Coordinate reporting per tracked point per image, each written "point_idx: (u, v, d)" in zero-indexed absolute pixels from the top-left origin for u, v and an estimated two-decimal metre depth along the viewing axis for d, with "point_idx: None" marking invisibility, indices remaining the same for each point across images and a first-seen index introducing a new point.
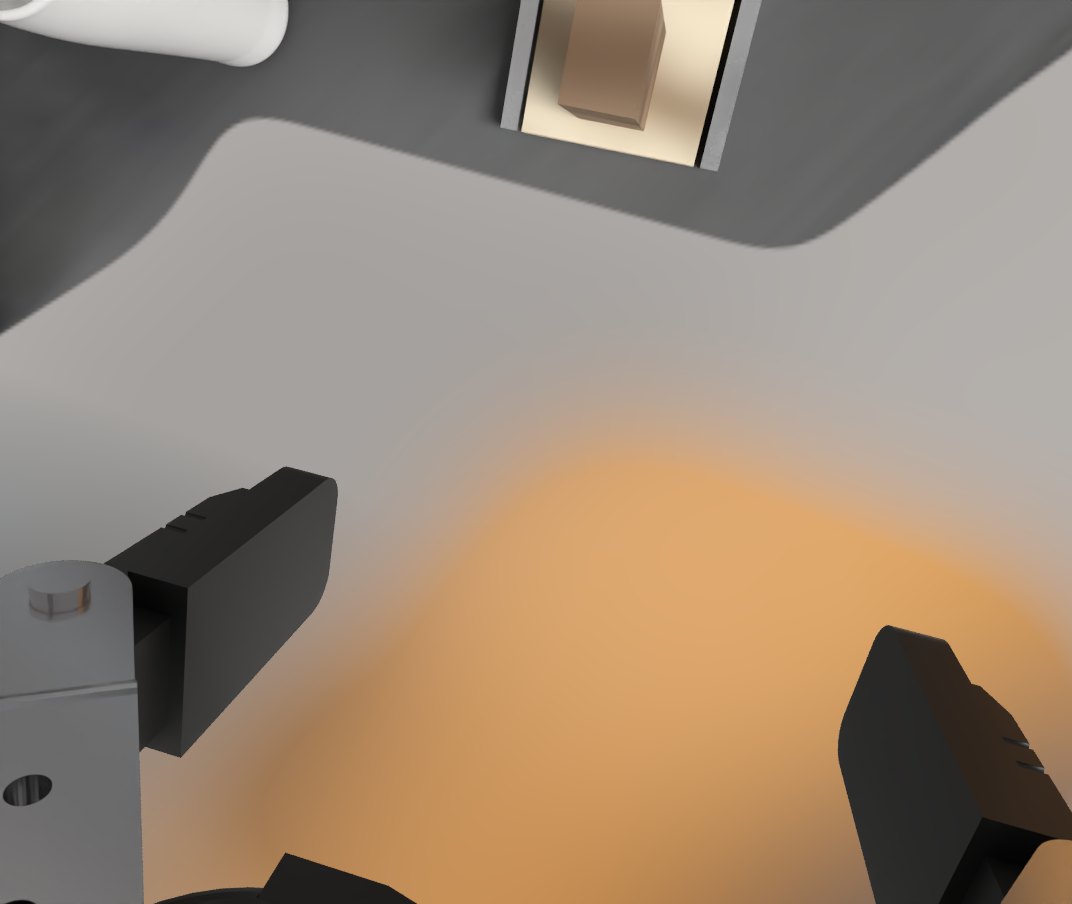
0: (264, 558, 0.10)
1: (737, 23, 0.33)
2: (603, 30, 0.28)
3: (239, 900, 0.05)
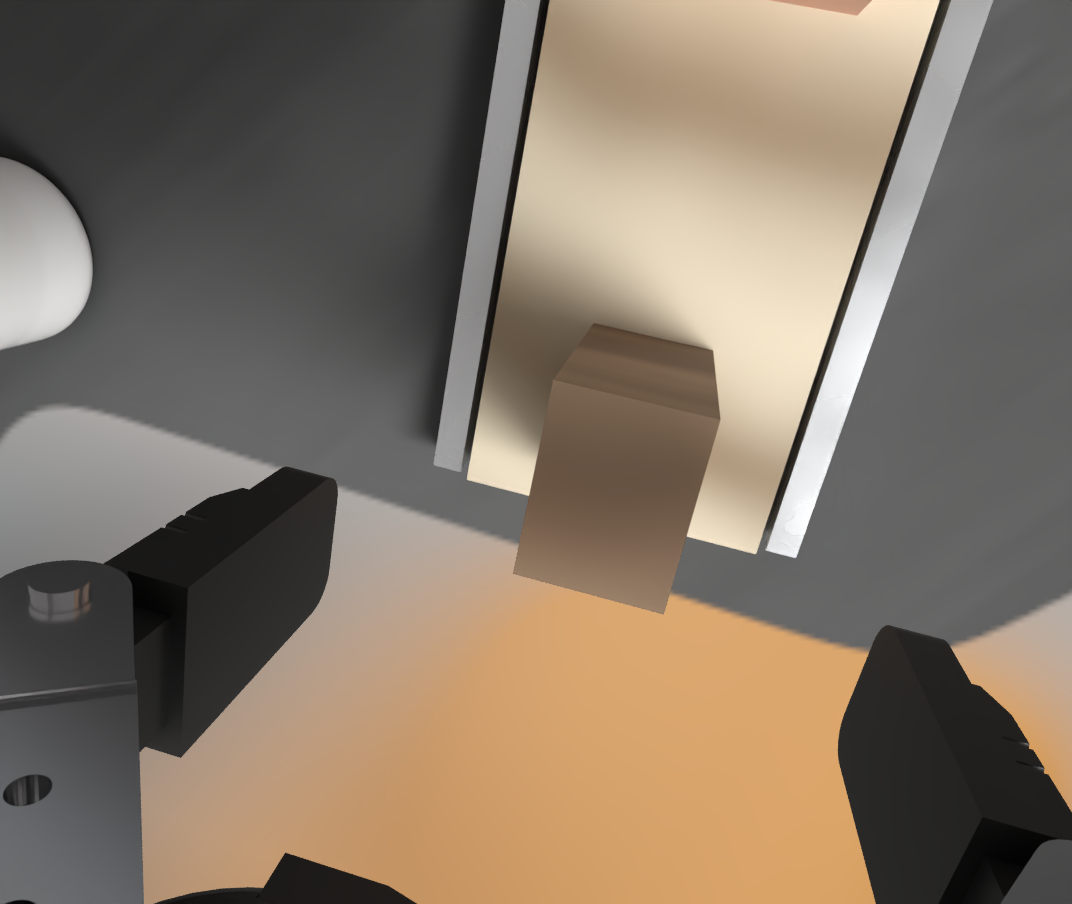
0: (263, 558, 0.10)
1: (839, 339, 0.19)
2: (601, 461, 0.14)
3: (238, 900, 0.05)
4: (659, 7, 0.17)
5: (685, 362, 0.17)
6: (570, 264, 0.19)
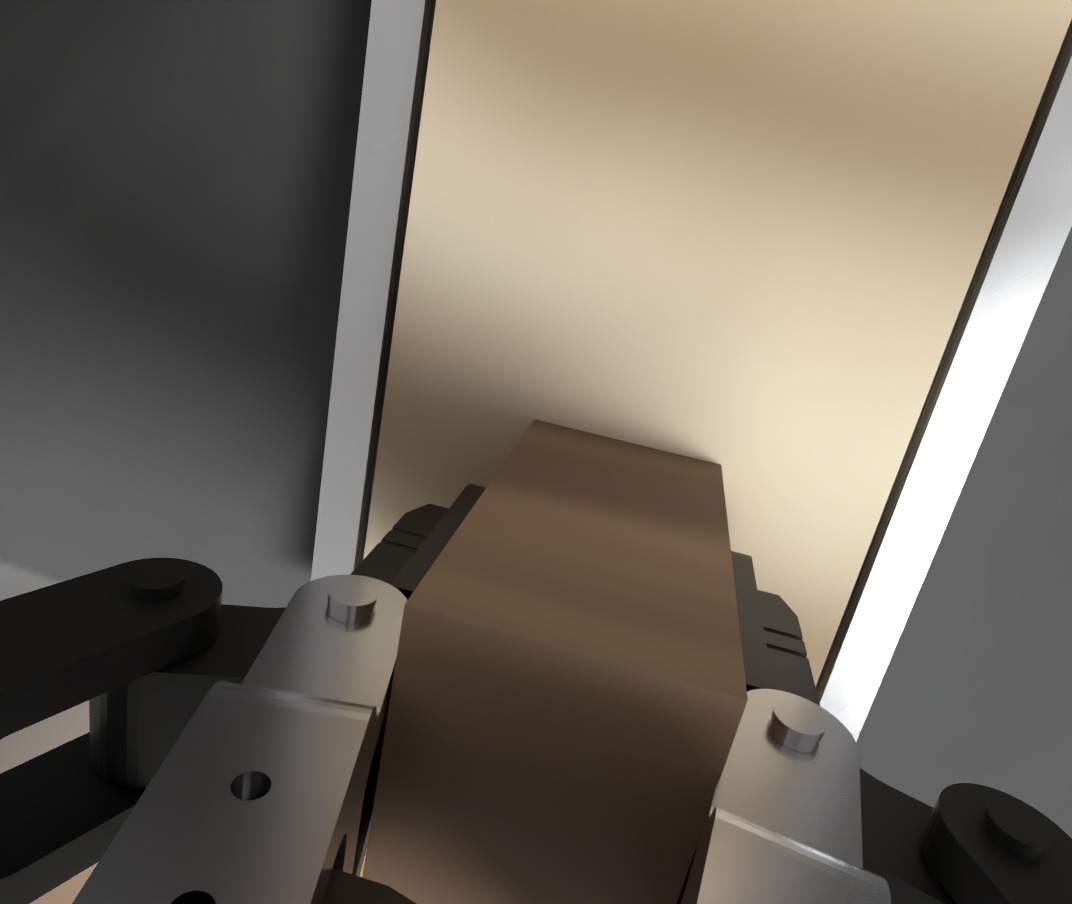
0: None
1: (923, 449, 0.12)
2: (507, 758, 0.07)
3: None
4: None
5: (676, 504, 0.10)
6: (495, 329, 0.12)
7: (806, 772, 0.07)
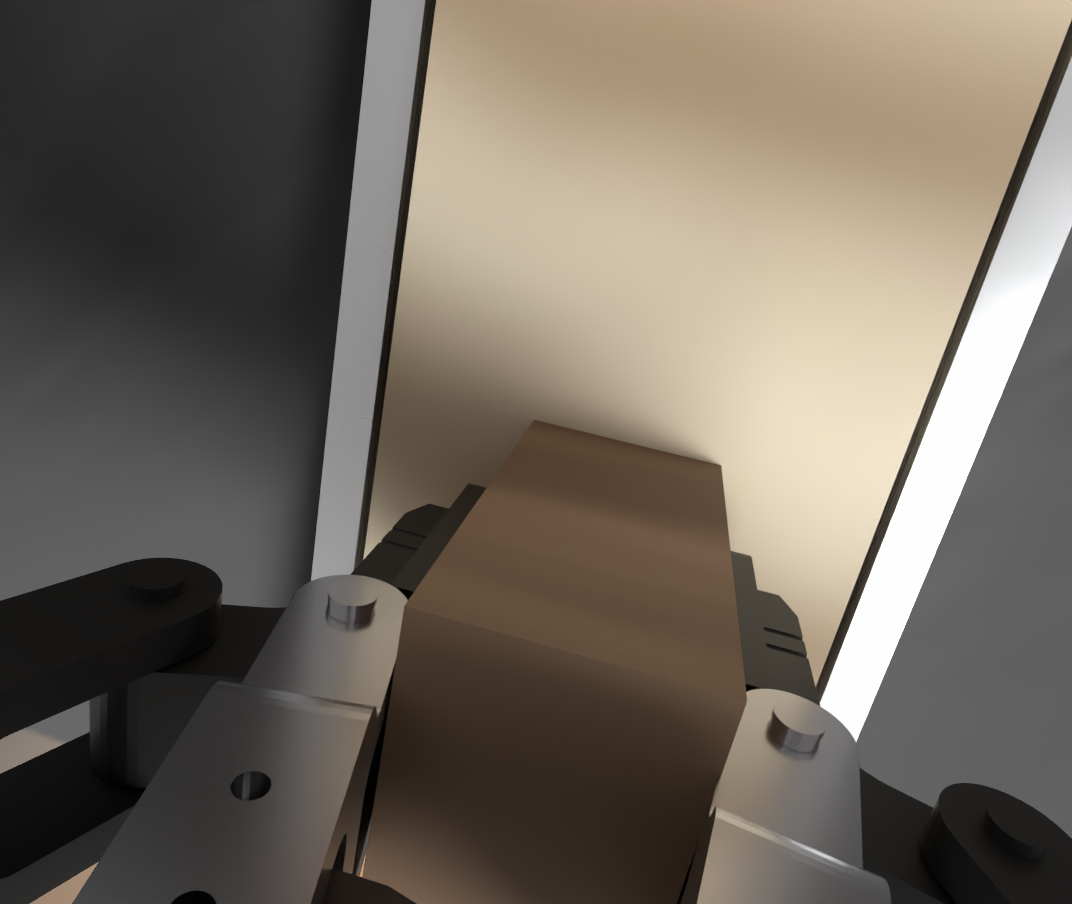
0: None
1: (827, 694, 0.13)
2: (507, 758, 0.07)
3: None
4: None
5: (676, 505, 0.10)
6: (495, 329, 0.12)
7: (806, 772, 0.07)
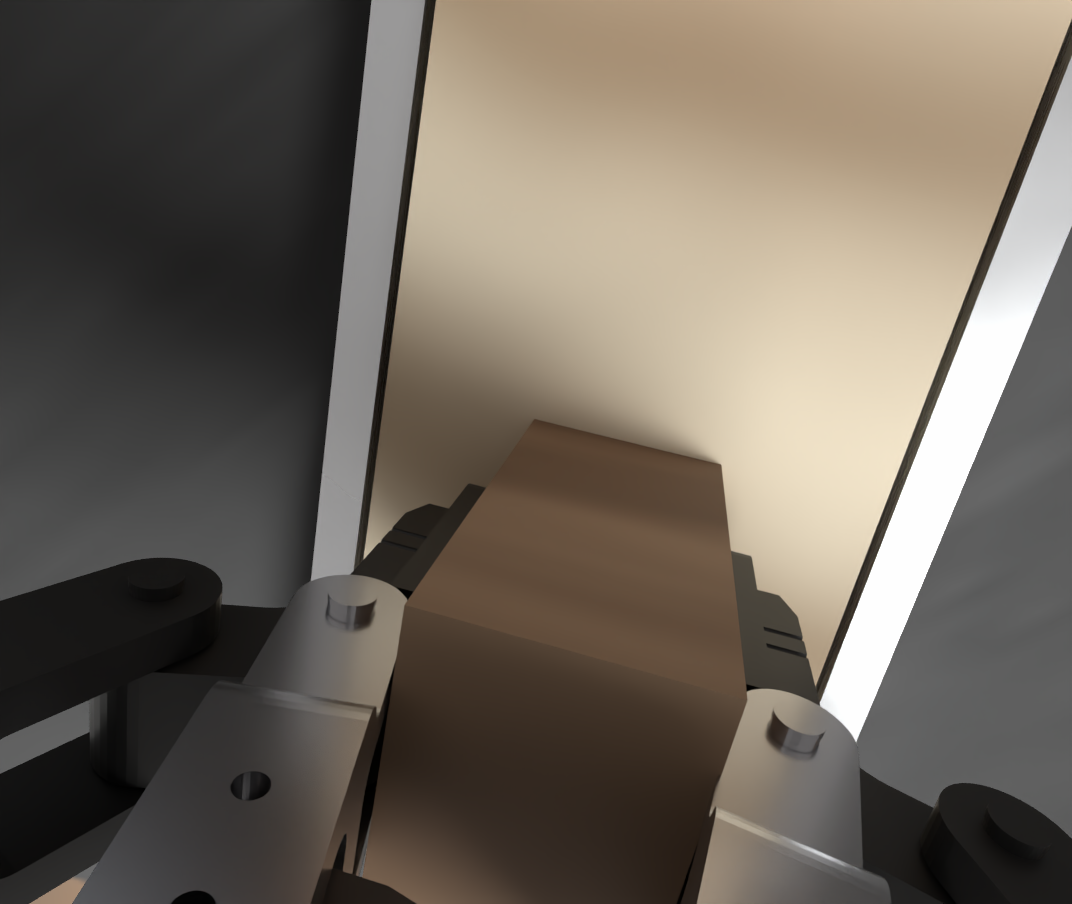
0: None
1: None
2: (507, 758, 0.07)
3: None
4: None
5: (676, 504, 0.10)
6: (495, 328, 0.12)
7: (806, 772, 0.07)
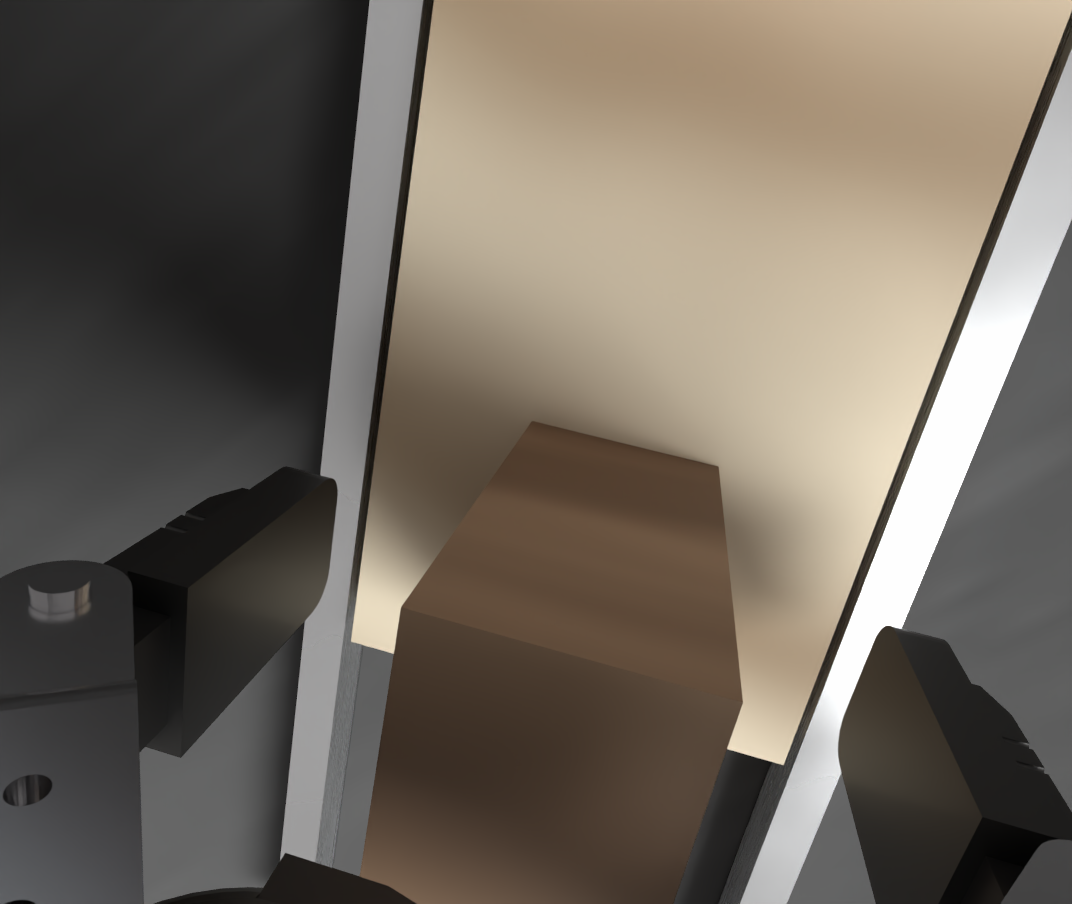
0: (264, 558, 0.10)
1: (751, 883, 0.15)
2: (504, 760, 0.07)
3: (239, 900, 0.05)
4: None
5: (674, 506, 0.10)
6: (493, 330, 0.12)
7: None
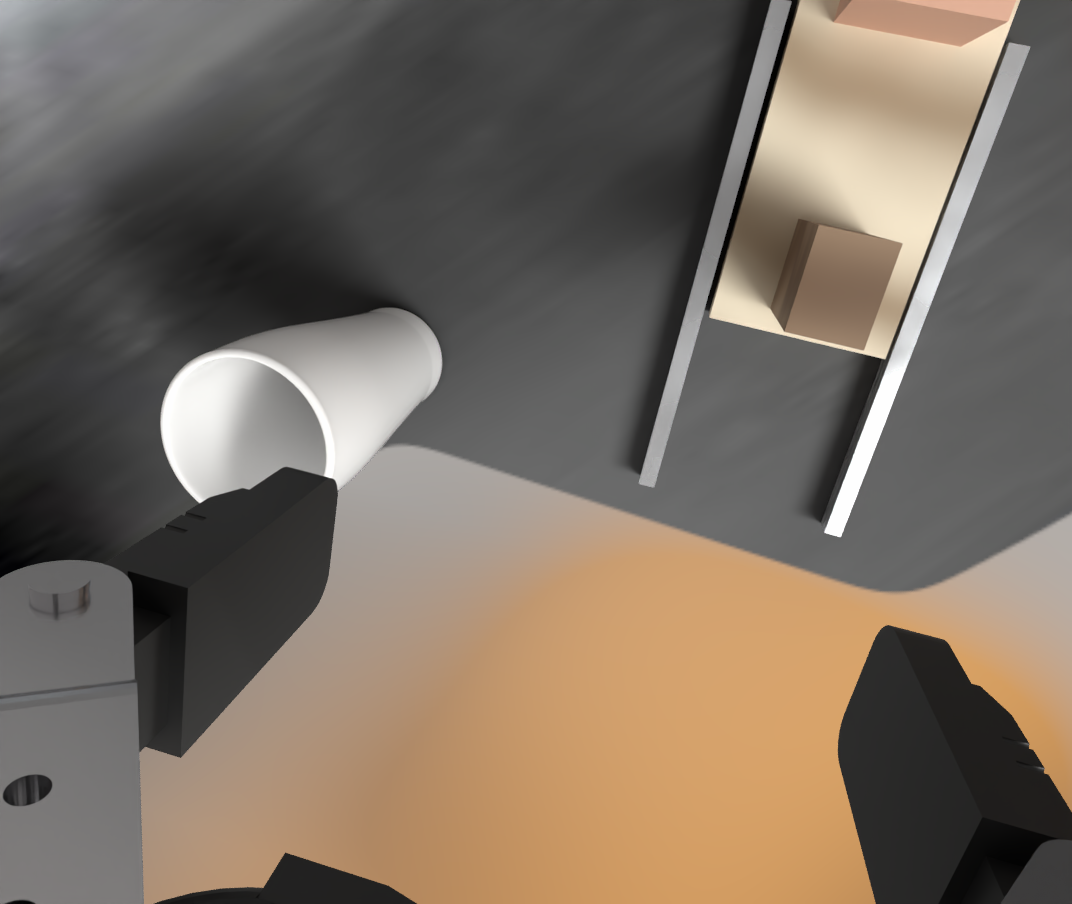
0: (264, 558, 0.10)
1: (867, 422, 0.36)
2: (839, 267, 0.28)
3: (239, 900, 0.05)
4: (852, 40, 0.31)
5: (862, 233, 0.31)
6: (787, 183, 0.33)
7: None
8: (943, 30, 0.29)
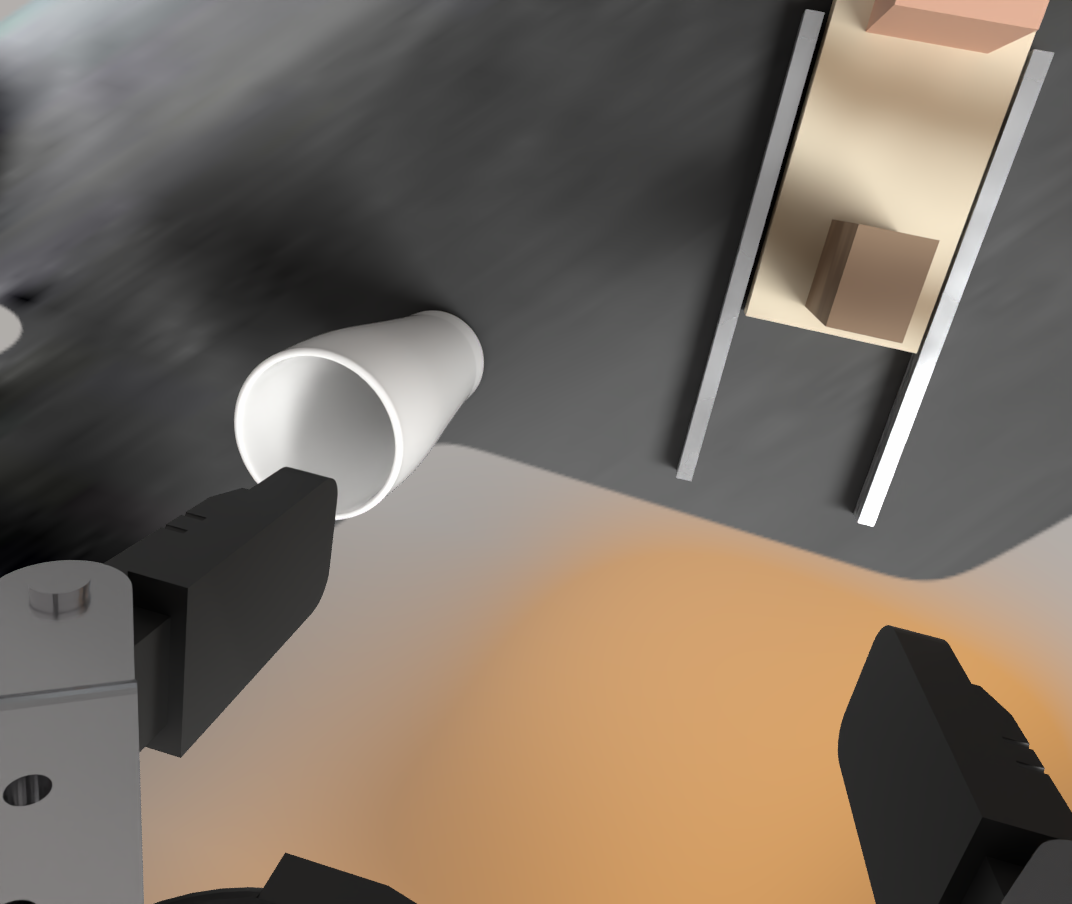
0: (264, 558, 0.10)
1: (899, 415, 0.38)
2: (878, 264, 0.30)
3: (239, 900, 0.05)
4: (883, 48, 0.33)
5: None
6: (821, 186, 0.35)
7: None
8: (973, 38, 0.30)
